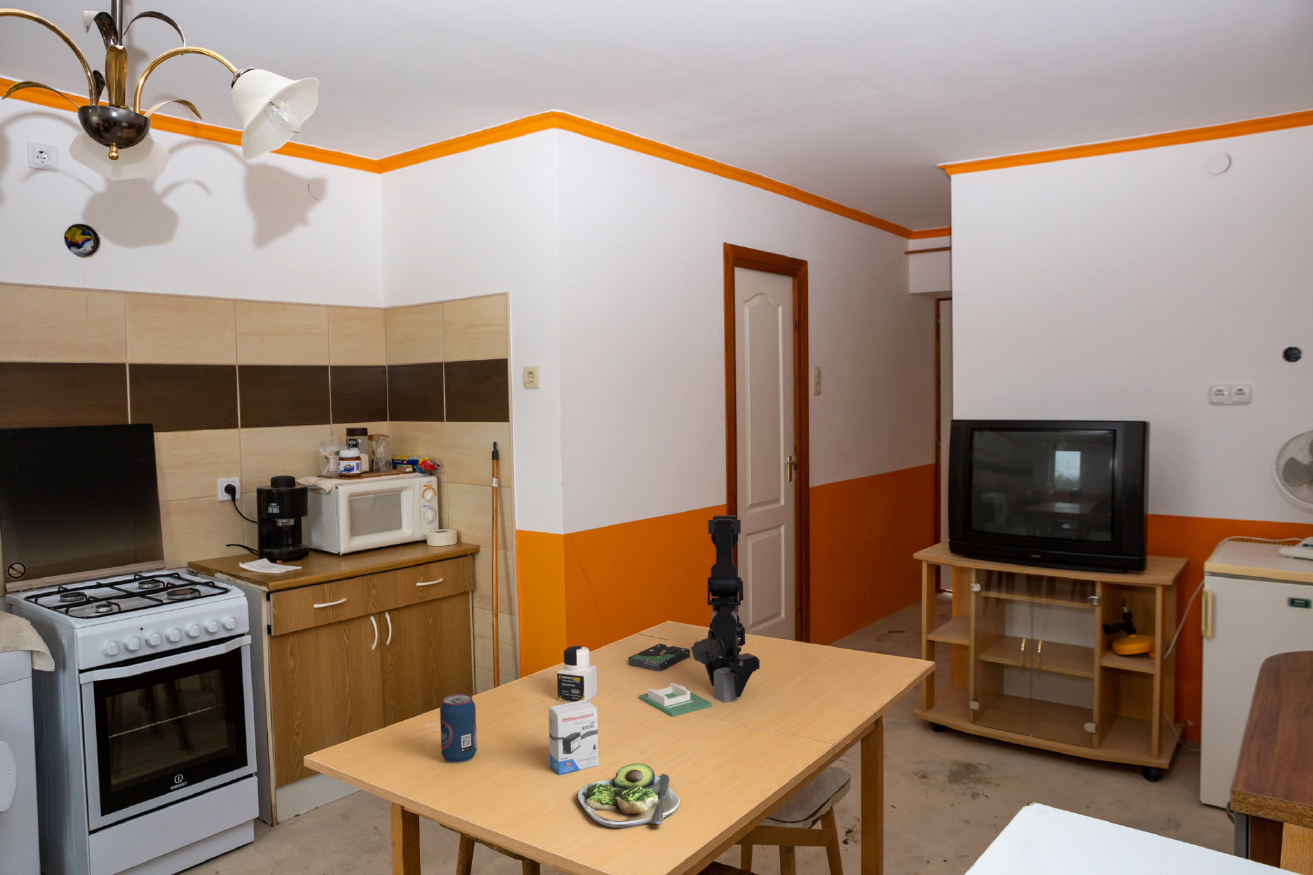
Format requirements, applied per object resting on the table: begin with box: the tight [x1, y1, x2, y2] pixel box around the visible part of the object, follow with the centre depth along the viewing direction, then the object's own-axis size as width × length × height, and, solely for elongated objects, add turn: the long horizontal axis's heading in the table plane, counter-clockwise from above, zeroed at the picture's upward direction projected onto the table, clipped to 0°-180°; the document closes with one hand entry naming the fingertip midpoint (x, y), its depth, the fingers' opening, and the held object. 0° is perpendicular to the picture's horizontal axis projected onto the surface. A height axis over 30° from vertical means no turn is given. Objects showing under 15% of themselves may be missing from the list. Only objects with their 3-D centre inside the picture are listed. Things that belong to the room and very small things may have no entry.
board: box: [638, 682, 713, 718], centre depth 204 cm, size 14×11×3 cm
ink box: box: [548, 700, 600, 776], centre depth 170 cm, size 8×5×12 cm, turn 117°
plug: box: [713, 667, 739, 704], centre depth 205 cm, size 4×4×7 cm
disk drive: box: [628, 643, 691, 672], centre depth 235 cm, size 10×3×15 cm
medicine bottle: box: [556, 645, 598, 703], centre depth 208 cm, size 7×7×12 cm
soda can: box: [439, 693, 478, 764], centre depth 175 cm, size 7×7×12 cm
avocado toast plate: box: [577, 762, 681, 829], centre depth 153 cm, size 19×18×5 cm
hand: (725, 691), depth 205 cm, fingers open, 9 cm apart
